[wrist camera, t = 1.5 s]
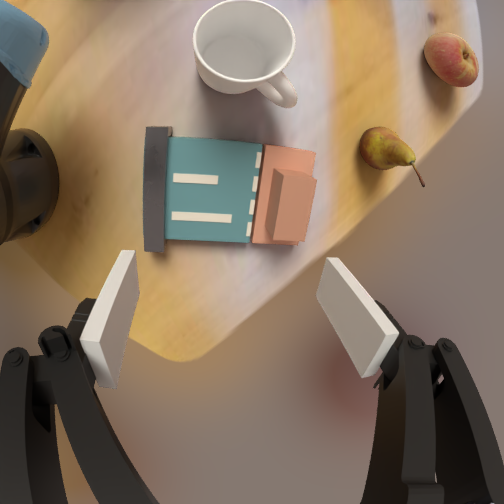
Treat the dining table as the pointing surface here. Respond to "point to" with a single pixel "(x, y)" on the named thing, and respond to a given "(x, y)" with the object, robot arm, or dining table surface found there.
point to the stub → (283, 195)
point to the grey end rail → (155, 187)
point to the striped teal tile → (210, 189)
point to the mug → (245, 50)
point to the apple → (451, 59)
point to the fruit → (386, 150)
